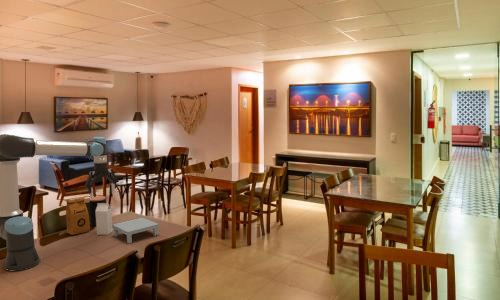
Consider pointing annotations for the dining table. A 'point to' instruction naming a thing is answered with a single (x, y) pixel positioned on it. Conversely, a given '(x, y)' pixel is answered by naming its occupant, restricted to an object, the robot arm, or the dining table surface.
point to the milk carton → (103, 219)
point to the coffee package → (77, 216)
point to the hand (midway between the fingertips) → (103, 196)
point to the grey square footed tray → (135, 227)
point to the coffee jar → (93, 207)
